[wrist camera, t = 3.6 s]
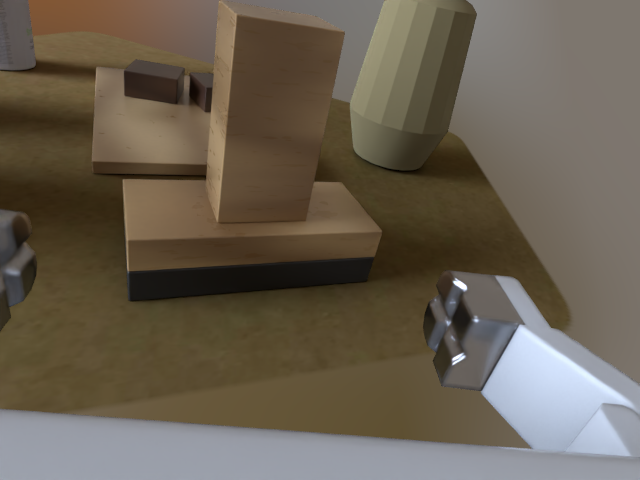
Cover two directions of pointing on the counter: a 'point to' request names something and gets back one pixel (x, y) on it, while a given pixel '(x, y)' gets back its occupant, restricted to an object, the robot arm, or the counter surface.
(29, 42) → the bottle
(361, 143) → the squeeze bottle
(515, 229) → the counter surface
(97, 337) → the counter surface
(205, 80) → the dark brown square block
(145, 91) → the chip
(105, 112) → the board
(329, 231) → the brush
